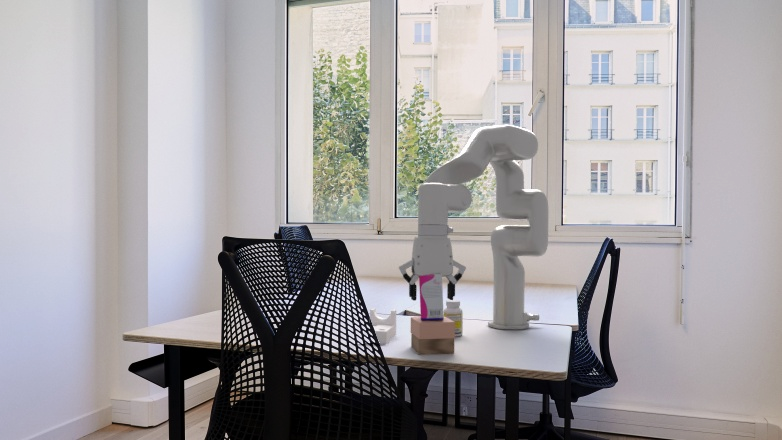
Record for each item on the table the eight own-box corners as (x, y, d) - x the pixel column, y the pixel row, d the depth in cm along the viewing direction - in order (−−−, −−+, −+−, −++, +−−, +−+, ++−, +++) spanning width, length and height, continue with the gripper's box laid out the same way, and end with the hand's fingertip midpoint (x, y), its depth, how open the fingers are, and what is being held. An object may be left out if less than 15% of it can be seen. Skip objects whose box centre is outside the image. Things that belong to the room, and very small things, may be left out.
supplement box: (442, 316, 157) (441, 272, 157) (443, 320, 151) (442, 274, 151) (420, 316, 157) (419, 272, 157) (420, 320, 151) (419, 275, 151)
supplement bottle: (448, 332, 178) (448, 299, 178) (465, 334, 175) (465, 300, 175) (440, 335, 174) (440, 301, 174) (457, 337, 171) (457, 302, 171)
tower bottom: (444, 346, 159) (445, 331, 159) (454, 354, 150) (454, 338, 150) (411, 347, 157) (411, 332, 157) (418, 355, 148) (418, 339, 148)
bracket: (372, 334, 175) (372, 308, 175) (396, 335, 174) (396, 309, 174) (360, 343, 162) (360, 315, 162) (386, 344, 161) (386, 316, 161)
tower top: (443, 331, 159) (444, 316, 159) (454, 338, 150) (454, 321, 150) (410, 332, 157) (410, 317, 157) (419, 339, 148) (419, 322, 148)
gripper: (461, 231, 159) (460, 297, 159) (396, 231, 156) (395, 298, 156) (470, 232, 152) (469, 301, 152) (402, 232, 149) (401, 302, 149)
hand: (432, 299), depth 154 cm, fingers open, 9 cm apart
